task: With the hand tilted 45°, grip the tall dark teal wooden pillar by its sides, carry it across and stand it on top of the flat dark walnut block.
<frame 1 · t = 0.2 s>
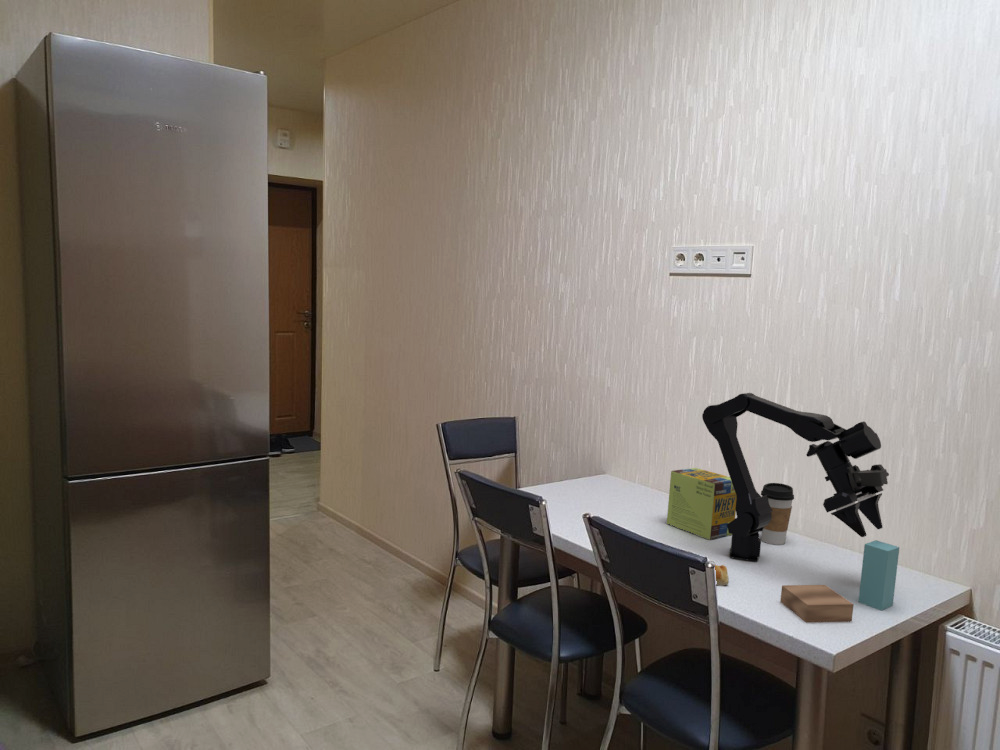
hand: (872, 532, 166), 14 cm above the table, tool tilted 35°, fingers open, 9 cm apart
coffee cup: (772, 541, 202), on the table
walnut block: (814, 613, 157), on the table
pastry: (709, 582, 171), on the table
teal pillar: (875, 603, 163), on the table
protein box: (699, 530, 209), on the table
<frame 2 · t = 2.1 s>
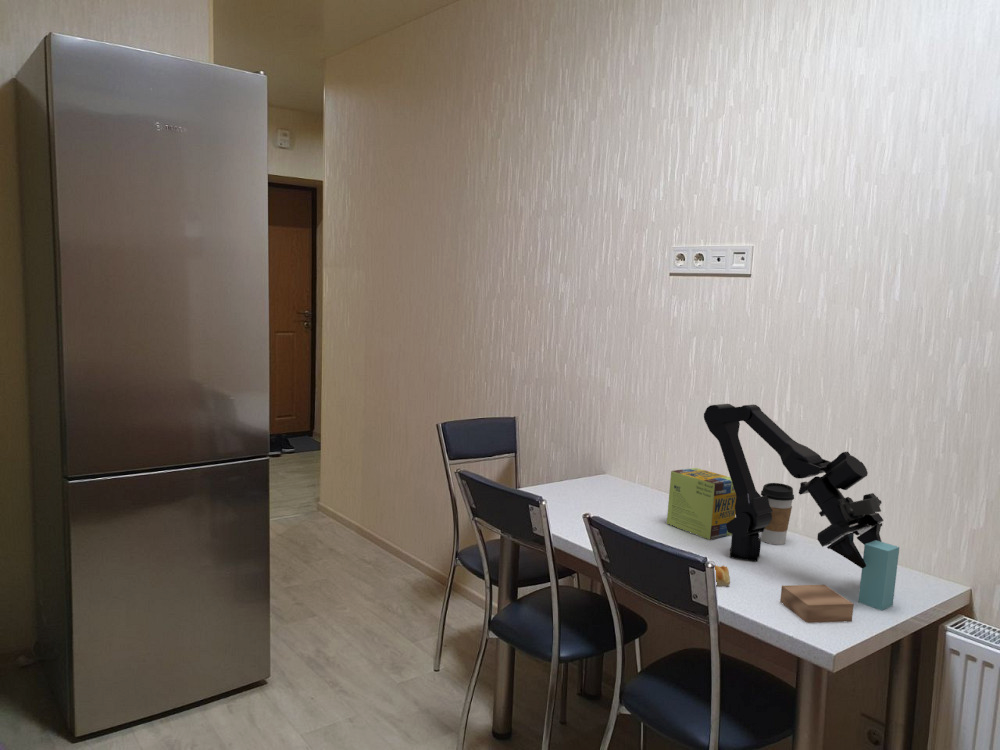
hand: (875, 563, 162), 9 cm above the table, tool tilted 45°, fingers open, 9 cm apart
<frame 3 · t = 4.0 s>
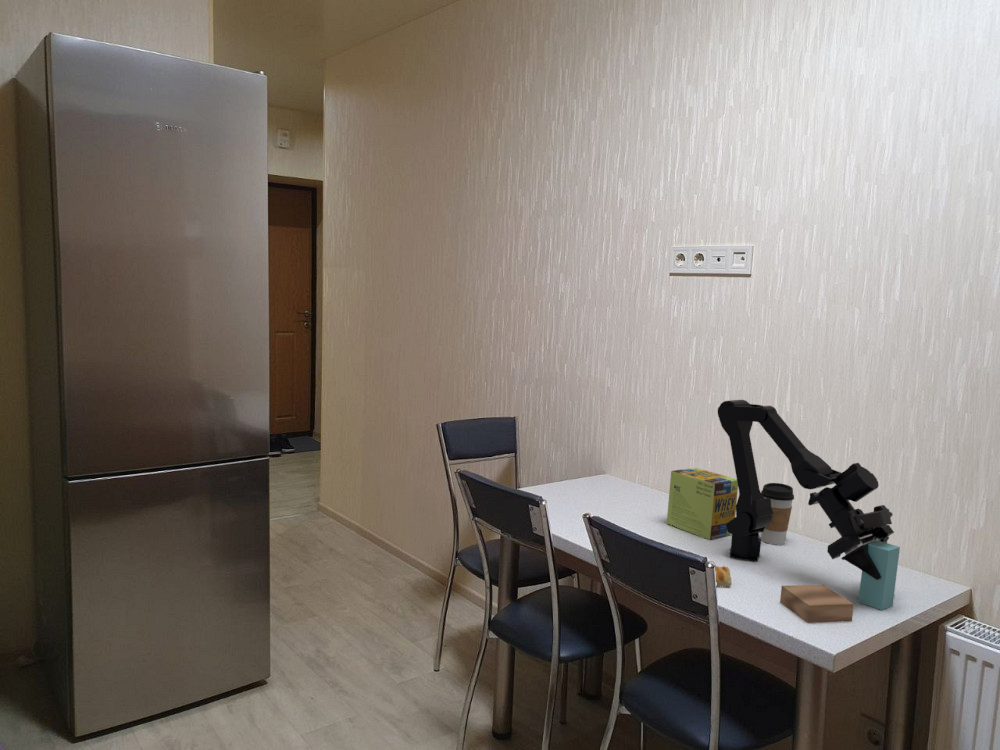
hand: (885, 576, 161), 7 cm above the table, tool tilted 45°, fingers closed on teal pillar, 5 cm apart
teal pillar: (875, 603, 163), on the table, touching gripper
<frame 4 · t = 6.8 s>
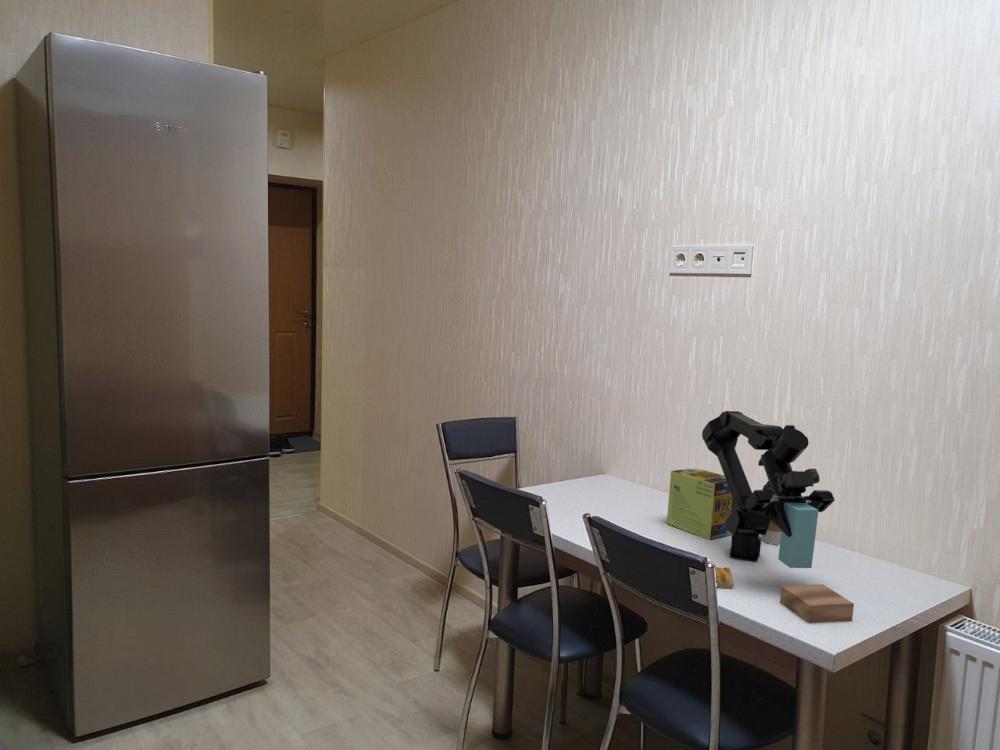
hand: (801, 536, 163), 13 cm above the table, tool tilted 45°, fingers closed on teal pillar, 5 cm apart
teal pillar: (794, 563, 166), point 7 cm above the table, touching gripper
when the fingers open (11 cm above the table, at t = 10.0 s): teal pillar drops 1 cm, resting on walnut block.
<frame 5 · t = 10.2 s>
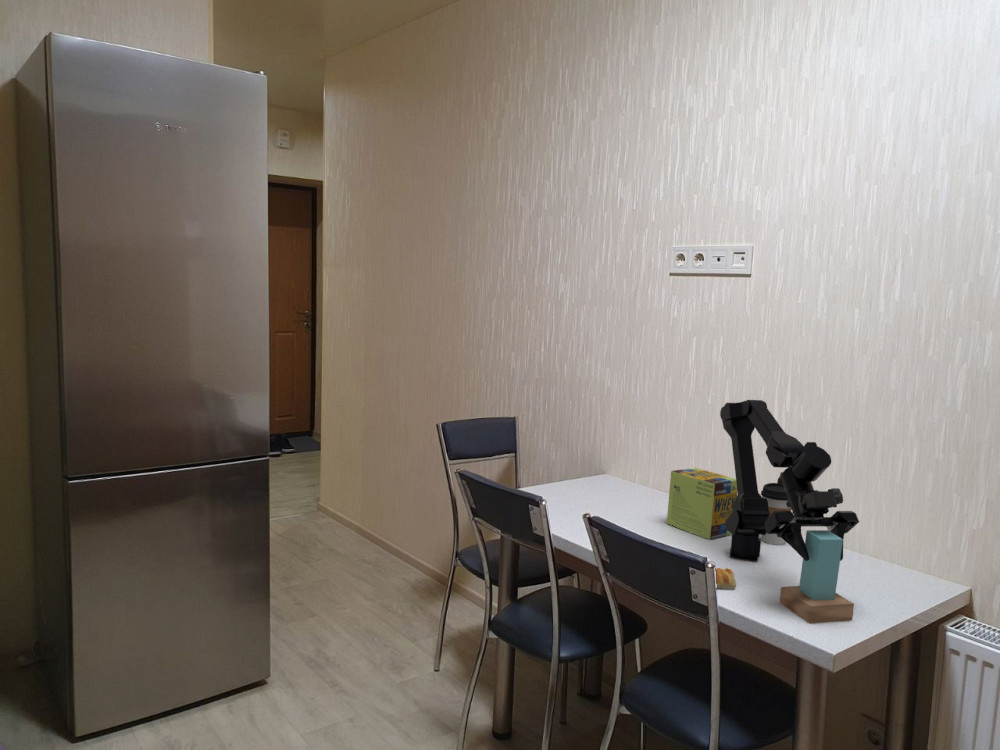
hand: (824, 560, 154), 12 cm above the table, tool tilted 45°, fingers open, 7 cm apart
walnut block: (814, 613, 157), on the table, touching teal pillar
teal pillar: (816, 594, 157), point 4 cm above the table, touching walnut block
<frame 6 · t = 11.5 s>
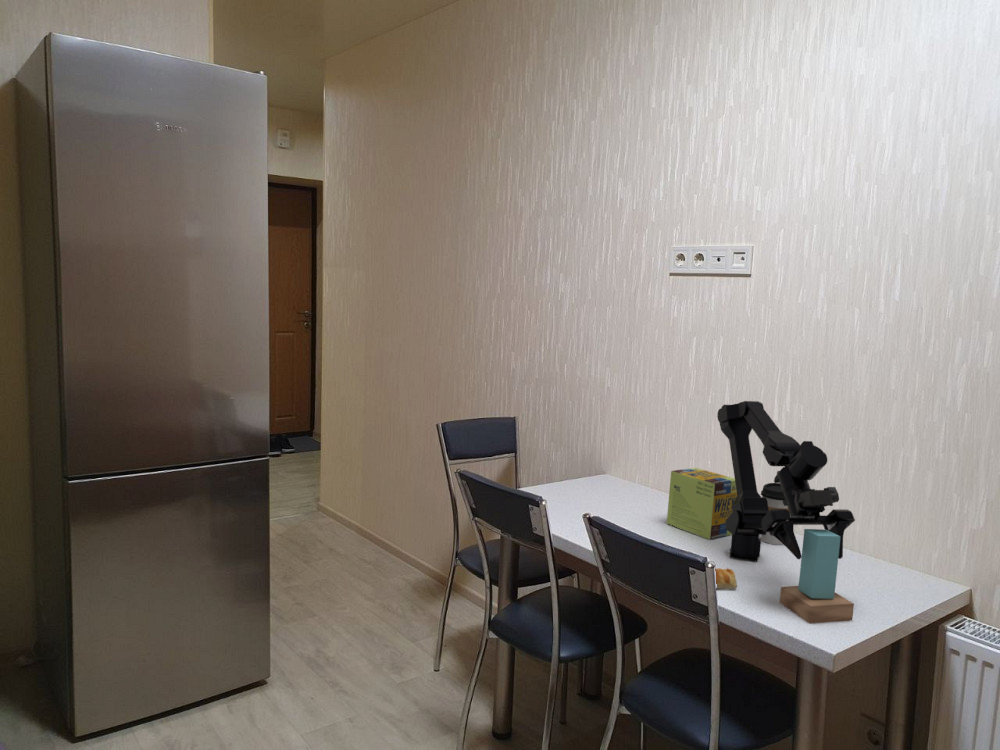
hand: (820, 558, 156), 11 cm above the table, tool tilted 45°, fingers open, 9 cm apart
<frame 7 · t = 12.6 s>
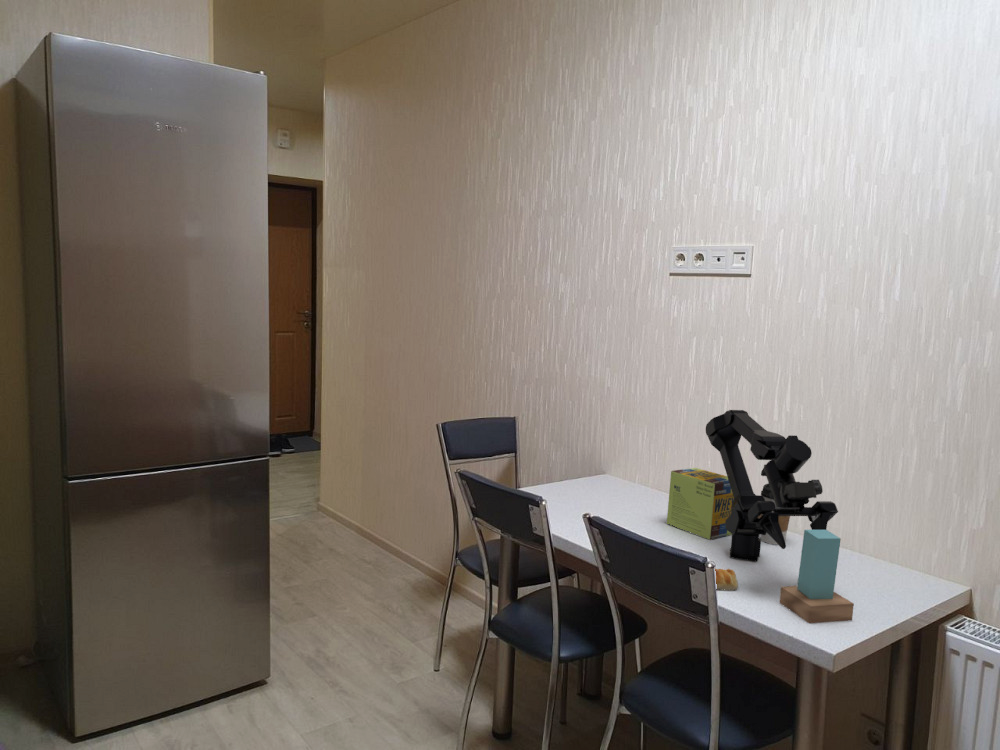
hand: (804, 548, 162), 11 cm above the table, tool tilted 45°, fingers open, 9 cm apart
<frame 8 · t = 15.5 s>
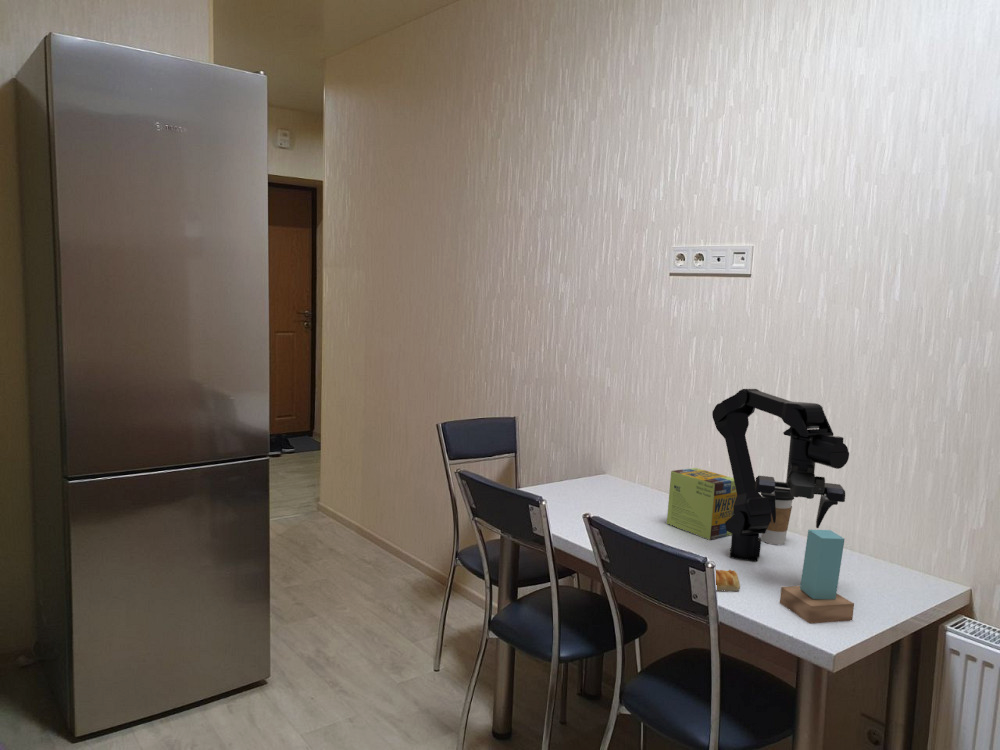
hand: (795, 525, 173), 13 cm above the table, tool pointing down, fingers open, 9 cm apart
walnut block: (815, 613, 157), on the table
teal pillar: (817, 593, 157), point 4 cm above the table
at the end: teal pillar 0.3 cm off-centre on the walnut block, point 4.2 cm above the walnut block's base; teal pillar tilted 2°; the gripper is holding nothing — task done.
